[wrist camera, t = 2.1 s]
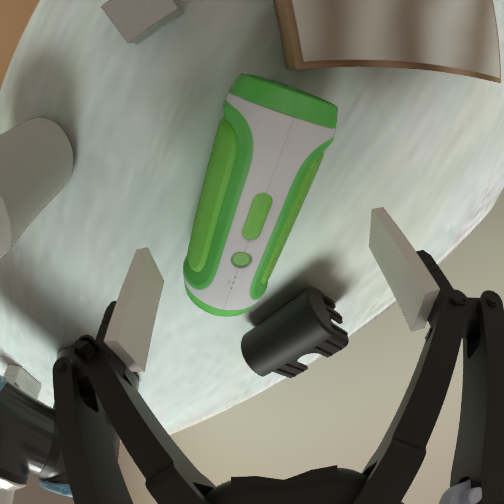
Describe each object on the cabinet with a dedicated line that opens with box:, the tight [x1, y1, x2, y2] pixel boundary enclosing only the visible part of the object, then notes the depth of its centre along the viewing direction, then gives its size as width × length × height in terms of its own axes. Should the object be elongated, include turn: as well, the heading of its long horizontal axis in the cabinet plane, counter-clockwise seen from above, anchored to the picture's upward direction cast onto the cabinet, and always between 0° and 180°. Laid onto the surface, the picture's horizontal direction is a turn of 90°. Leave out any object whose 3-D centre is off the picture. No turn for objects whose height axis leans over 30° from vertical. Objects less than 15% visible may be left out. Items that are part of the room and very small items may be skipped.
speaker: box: [183, 74, 338, 317], centre depth 21 cm, size 18×7×8 cm, turn 163°
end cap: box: [241, 288, 348, 378], centre depth 31 cm, size 10×7×7 cm
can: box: [0, 117, 74, 258], centre depth 15 cm, size 8×8×12 cm
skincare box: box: [4, 365, 41, 399], centre depth 40 cm, size 8×6×15 cm
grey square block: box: [101, 0, 184, 44], centre depth 13 cm, size 4×4×2 cm
